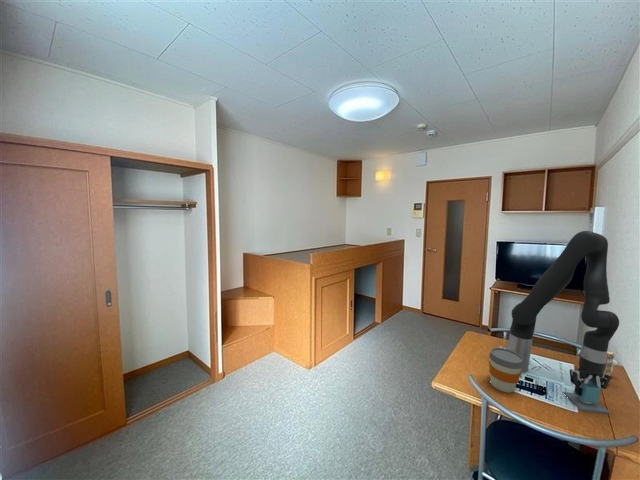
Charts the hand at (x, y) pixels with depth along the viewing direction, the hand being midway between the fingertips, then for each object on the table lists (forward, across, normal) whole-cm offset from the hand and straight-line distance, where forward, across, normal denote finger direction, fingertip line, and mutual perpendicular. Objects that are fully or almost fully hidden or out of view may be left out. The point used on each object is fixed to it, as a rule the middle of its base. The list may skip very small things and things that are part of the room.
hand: (586, 395), depth 112 cm
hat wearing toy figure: (+4, +27, +25) cm, 37 cm away
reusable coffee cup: (+4, -29, +6) cm, 30 cm away
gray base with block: (+4, 0, 0) cm, 4 cm away
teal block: (+1, 0, 0) cm, 1 cm away
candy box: (+4, +19, +20) cm, 28 cm away
